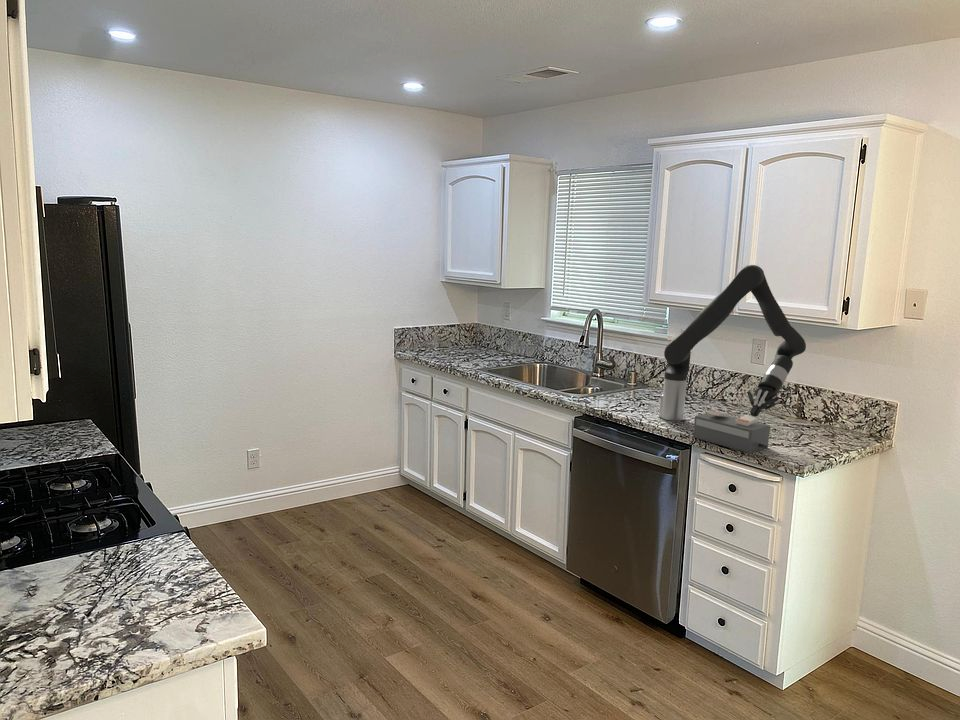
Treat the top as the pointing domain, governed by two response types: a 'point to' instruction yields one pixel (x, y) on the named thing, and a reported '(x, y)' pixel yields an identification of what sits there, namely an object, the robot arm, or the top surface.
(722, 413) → the left rocker
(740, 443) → the switch box
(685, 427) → the top surface
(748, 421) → the right rocker
